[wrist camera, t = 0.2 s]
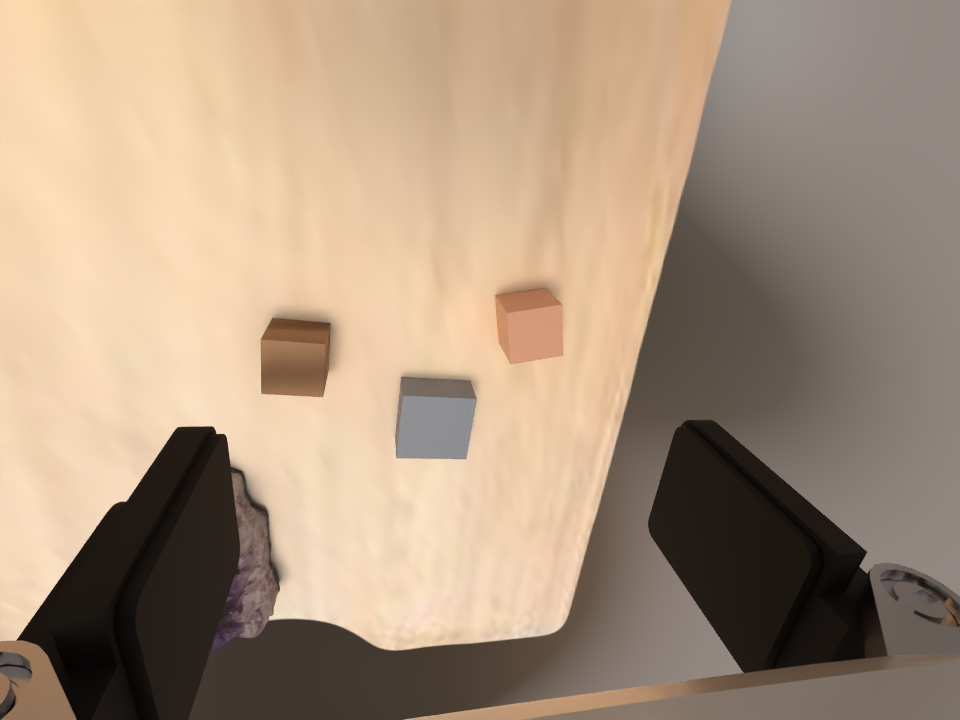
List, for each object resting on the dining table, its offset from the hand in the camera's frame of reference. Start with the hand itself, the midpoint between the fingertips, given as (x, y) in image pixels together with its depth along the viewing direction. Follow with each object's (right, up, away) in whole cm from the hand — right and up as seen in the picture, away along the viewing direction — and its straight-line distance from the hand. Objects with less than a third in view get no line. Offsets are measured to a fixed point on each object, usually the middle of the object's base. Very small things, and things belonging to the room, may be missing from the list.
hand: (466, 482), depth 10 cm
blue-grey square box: (-5, -2, +41) cm, 42 cm away
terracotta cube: (+4, +7, +39) cm, 39 cm away
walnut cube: (-16, +4, +36) cm, 39 cm away
